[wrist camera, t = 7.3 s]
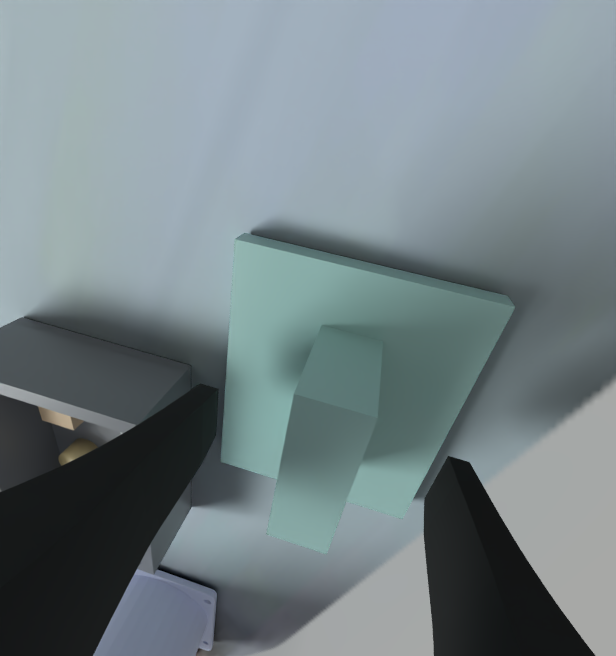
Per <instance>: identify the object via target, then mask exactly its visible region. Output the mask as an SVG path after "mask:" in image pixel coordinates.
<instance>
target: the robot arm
mask: <svg viewBox="0 0 616 656" xmlns="http://www.w3.org/2000/svg"><path fill="white" fill-rule="evenodd" d="M217 407H218V389H217V388H213V387H210V386H206V385H203V384H199V385H197V386H196V387H194V388H193V389H191V390H190V391H188V392H187V393H185V394H184V395H183V396H181V397H180V398H178V399H177V400H175V401H174V402H172V403H171V404H169V405H168V406H166V407H165V408H163V409H162V410H160V411H158V412H157V413H155V414H154V415H152V416H151V417H149V418H147V419H146V420H144V421H143V422H141V423H140V424H138V425H136V426H135V427H133V428H131V429H130V430H128V431H126V432H124V433H123V434H121V435H119V436H117V437H116V438H114V439H112V440H111V441H109V442H107V443H105V444H103V445H102V446H100V447H98V448H96V449H94V450H92V451H90V452H88V453H86V454H85V455H83V456H80V457H78V458H76V459H74V460H72V461H70V462H68V463H66V464H64V465H62V466H60V467H58V468H55V469H53V470H51V471H49V472H47V473H44V474H42V475H40V476H37V477H35V478H33V479H30V480H28V481H26V482H24V483H21V484H19V485H17V486H14V487H12V488H9V489H7V490H4V491H1V492H0V656H195V655H196V653H197V650H198V648H201V649H204V650H207V651H210V650H211V649H212V646H213V639H214V627H215V614H216V602H217V593H216V592H215V591H214V590H213V589H211V588H208V587H205V586H202V585H199V584H197V583H194V582H191V581H188V580H186V579H183V578H180V577H177V576H174V575H172V574H169V573H166V572H163V571H160V570H158V569H157V570H156V572H155V574H154V575H153V574H150V573H147V572H144V571H142V570H139V569H137V568H138V566H139V564H140V562H141V561H142V559H143V557H144V555H145V553H146V551H147V549H148V547H149V546H150V544H151V542H152V541H153V539H154V537H155V536H156V534H157V532H158V531H159V529H160V527H161V526H162V524H163V523H164V521H165V520H166V518H167V517H168V515H169V514H170V512H171V510H172V509H173V507H174V506H175V504H176V503H177V501H178V500H179V498H180V497H181V495H182V494H183V492H184V490H185V489H186V487H187V486H188V484H189V483H190V481H191V480H192V478H193V476H194V475H195V473H196V472H197V470H198V469H199V467H200V465H201V464H202V462H203V460H204V458H205V456H206V454H207V452H208V450H209V448H210V446H211V444H212V442H213V440H214V438H215V436H216V426H217ZM424 542H425V553H426V564H427V574H428V584H429V594H430V604H431V614H432V624H433V641H434V656H595V655H594V653H593V652H592V651H591V649H590V648H589V647H588V646H587V644H586V643H585V642H584V640H583V639H582V638H581V636H580V635H579V634H578V632H577V631H576V630H575V628H574V627H573V625H572V624H571V623H570V621H569V620H568V619H567V617H566V616H565V615H564V613H563V612H562V611H561V609H560V608H559V607H558V605H557V604H556V602H555V601H554V599H553V598H552V596H551V595H550V594H549V592H548V591H547V589H546V588H545V586H544V585H543V584H542V582H541V580H540V579H539V577H538V576H537V574H536V573H535V571H534V570H533V568H532V567H531V565H530V564H529V562H528V561H527V559H526V558H525V556H524V554H523V553H522V551H521V550H520V548H519V547H518V545H517V543H516V542H515V540H514V539H513V537H512V535H511V533H510V532H509V530H508V528H507V527H506V525H505V523H504V522H503V520H502V518H501V517H500V515H499V513H498V512H497V510H496V508H495V507H494V505H493V503H492V501H491V499H490V498H489V496H488V494H487V492H486V491H485V489H484V487H483V485H482V483H481V482H480V480H479V478H478V476H477V475H476V473H475V471H474V469H473V468H472V466H471V464H470V462H467V461H463V460H460V459H457V458H453V457H450V456H448V457H447V459H446V461H445V463H444V465H443V466H442V468H441V470H440V472H439V474H438V475H437V477H436V479H435V481H434V482H433V484H432V486H431V488H430V490H429V491H428V493H427V495H426V497H425V502H424Z"/></svg>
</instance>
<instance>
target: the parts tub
mask: <svg viewBox="0 0 616 656" xmlns="http://www.w3.org/2000/svg"><path fill="white" fill-rule="evenodd" d="M190 390H191V366H190V365H187V364H183V363H180V362H176V361H173V360H169V359H166V358H162V357H159V356H155V355H152V354H149V353H145V352H142V351H138V350H135V349H131V348H128V347H124V346H121V345H117V344H114V343H110V342H107V341H103V340H100V339H96V338H93V337H89V336H86V335H82V334H79V333H75V332H72V331H68V330H65V329H61V328H58V327H54V326H51V325H47V324H44V323H40V322H37V321H33V320H30V319H26V318H23V317H22V318H19V319H17V320H15V321H13V322H11V323H9V324H7V325H5V326H3V327H1V328H0V492H1V491H4V490H7V489H9V488H12V487H14V486H17V485H19V484H21V483H24V482H26V481H28V480H30V479H33V478H35V477H37V476H40V475H42V474H44V473H47V472H49V471H51V470H53V469H55V468H58V467H60V466H62V465H64V464H66V463H68V462H70V461H72V460H74V459H76V458H78V457H80V456H83V455H85V454H86V453H88V452H90V451H92V450H94V449H96V448H98V447H100V446H102V445H103V444H105V443H107V442H109V441H111V440H112V439H114V438H116V437H117V436H119V435H121V434H123V433H124V432H126V431H128V430H130V429H131V428H133V427H135V426H136V425H138V424H140V423H141V422H143V421H144V420H146V419H147V418H149V417H151V416H152V415H154V414H155V413H157V412H158V411H160V410H162V409H163V408H165V407H166V406H168V405H169V404H171V403H172V402H174V401H175V400H177V399H178V398H180V397H181V396H183V395H184V394H185V393H187V392H188V391H190ZM190 509H191V481H190V483H189V484H188V486H187V487H186V489H185V490H184V492H183V494H182V495H181V497H180V498H179V500H178V501H177V503H176V504H175V506H174V507H173V509H172V510H171V512H170V514H169V515H168V517H167V518H166V520H165V521H164V523H163V524H162V526H161V527H160V529H159V531H158V532H157V534H156V536H155V537H154V539H153V541H152V542H151V544H150V546H149V547H148V549H147V551H146V553H145V555H144V557H143V559H142V561H141V562H140V564H139V566H138V568H137V569H139V570H142V571H144V572H147V573H150V574H153V575H154V574H155V572H156V570H157V568H158V566H159V565H160V563H161V561H162V559H163V557H164V556H165V554H166V552H167V550H168V548H169V547H170V545H171V543H172V541H173V539H174V538H175V536H176V534H177V532H178V530H179V529H180V527H181V525H182V523H183V521H184V520H185V518H186V516H187V514H188V512H189V511H190Z"/></svg>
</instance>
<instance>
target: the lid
mask: <svg viewBox="0 0 616 656" xmlns="http://www.w3.org/2000/svg"><path fill="white" fill-rule="evenodd" d="M514 309H515V306H514V304H513V303H512V301H511V300H510V299H509V297H508V296H506V295H502V294H498V293H494V292H490V291H485V290H481V289H477V288H473V287H469V286H464V285H460V284H456V283H452V282H448V281H444V280H439V279H435V278H431V277H427V276H423V275H419V274H414V273H410V272H406V271H402V270H398V269H393V268H389V267H385V266H381V265H377V264H373V263H368V262H364V261H360V260H356V259H352V258H348V257H343V256H339V255H335V254H331V253H327V252H322V251H318V250H314V249H310V248H306V247H302V246H297V245H293V244H289V243H285V242H281V241H277V240H272V239H268V238H264V237H260V236H256V235H251V234H247V233H244V234H242V235H241V236H239V237H237V238H236V239H235V243H234V258H233V274H232V290H231V305H230V321H229V337H228V352H227V368H226V384H225V399H224V415H223V431H222V446H221V462H223V463H226V464H229V465H232V466H235V467H239V468H242V469H245V470H248V471H251V472H254V473H258V474H261V475H264V476H267V477H270V478H273V479H277V482H276V487H275V492H274V497H273V502H272V507H271V513H270V518H269V523H268V528H267V533H266V534H267V535H270V536H273V537H276V538H279V539H282V540H285V541H288V542H291V543H294V544H297V545H300V546H303V547H306V548H309V549H312V550H315V551H318V552H321V553H323V554H327V552H328V549H329V546H330V544H331V541H332V538H333V536H334V533H335V530H336V528H337V525H338V522H339V520H340V517H341V514H342V512H343V509H344V506H345V504H346V502H349V503H352V504H356V505H359V506H362V507H365V508H368V509H371V510H375V511H378V512H381V513H384V514H387V515H390V516H394V517H397V518H400V519H403V517H404V515H405V513H406V511H407V509H408V507H409V506H410V504H411V502H412V500H413V498H414V496H415V494H416V492H417V491H418V489H419V487H420V485H421V483H422V481H423V479H424V477H425V476H426V474H427V472H428V470H429V468H430V466H431V464H432V462H433V461H434V459H435V457H436V455H437V453H438V451H439V449H440V448H441V446H442V444H443V442H444V440H445V438H446V436H447V434H448V433H449V431H450V429H451V427H452V425H453V423H454V421H455V419H456V418H457V416H458V414H459V412H460V410H461V408H462V406H463V404H464V403H465V401H466V399H467V397H468V395H469V393H470V391H471V389H472V388H473V386H474V384H475V382H476V380H477V378H478V376H479V374H480V373H481V371H482V369H483V367H484V365H485V363H486V361H487V359H488V358H489V356H490V354H491V352H492V350H493V348H494V346H495V345H496V343H497V341H498V339H499V337H500V335H501V333H502V331H503V330H504V328H505V326H506V324H507V322H508V320H509V318H510V316H511V315H512V313H513V311H514Z"/></svg>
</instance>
